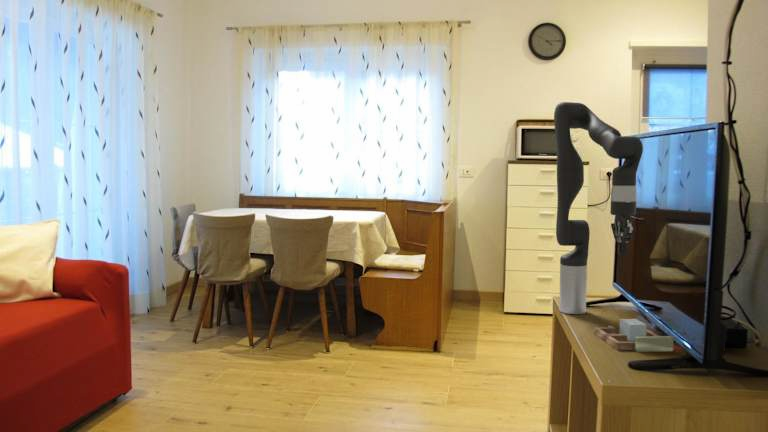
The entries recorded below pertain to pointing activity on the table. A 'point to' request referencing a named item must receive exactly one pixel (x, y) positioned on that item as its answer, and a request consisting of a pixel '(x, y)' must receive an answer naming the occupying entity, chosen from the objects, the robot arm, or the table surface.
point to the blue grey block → (632, 328)
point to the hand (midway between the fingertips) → (621, 254)
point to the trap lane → (641, 343)
